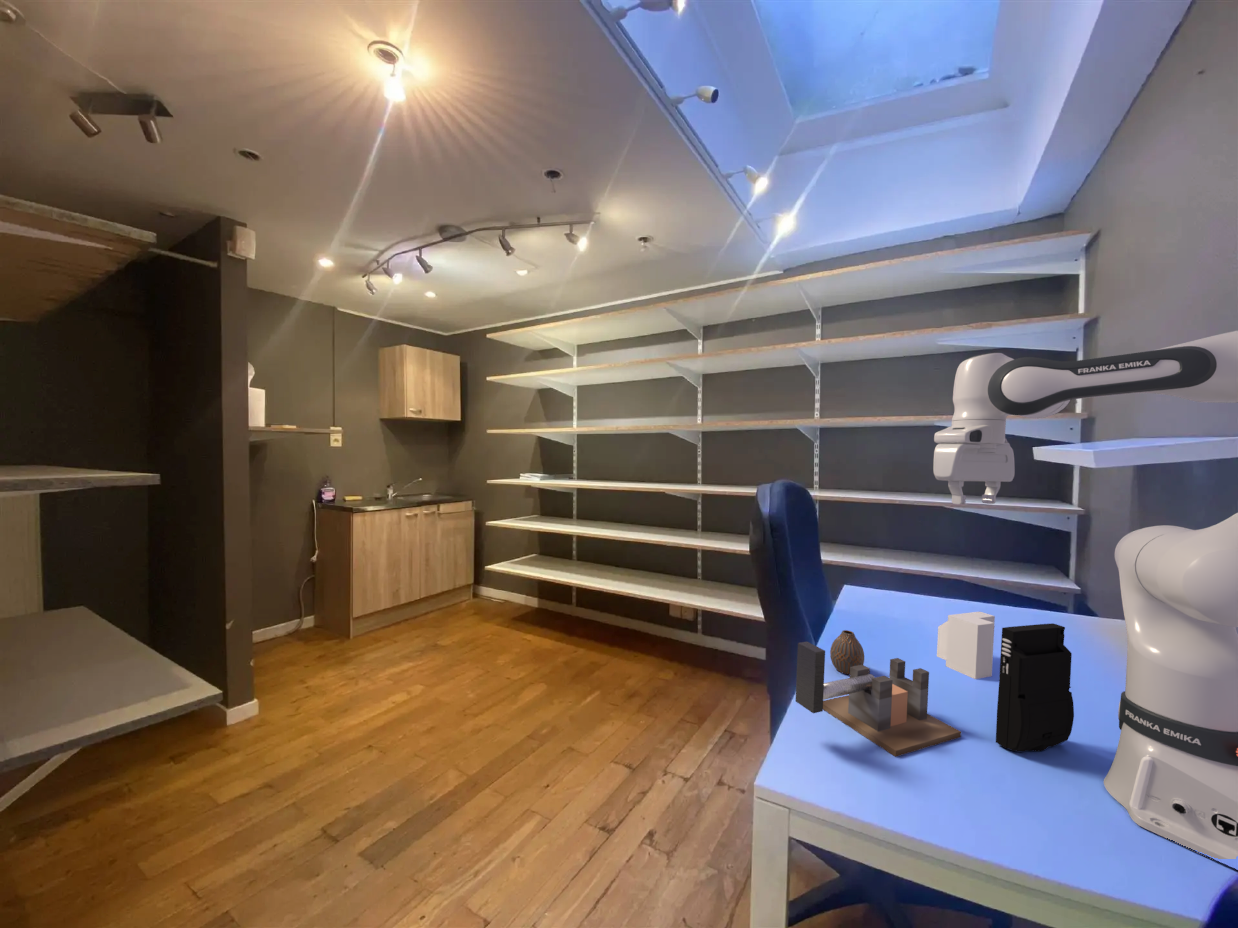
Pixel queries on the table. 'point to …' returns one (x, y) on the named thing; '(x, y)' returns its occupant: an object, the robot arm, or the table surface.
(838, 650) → the vase
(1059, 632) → the handheld gaming console
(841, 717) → the shaft stand
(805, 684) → the shaft
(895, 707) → the block
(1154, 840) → the table surface
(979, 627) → the corner bracket
